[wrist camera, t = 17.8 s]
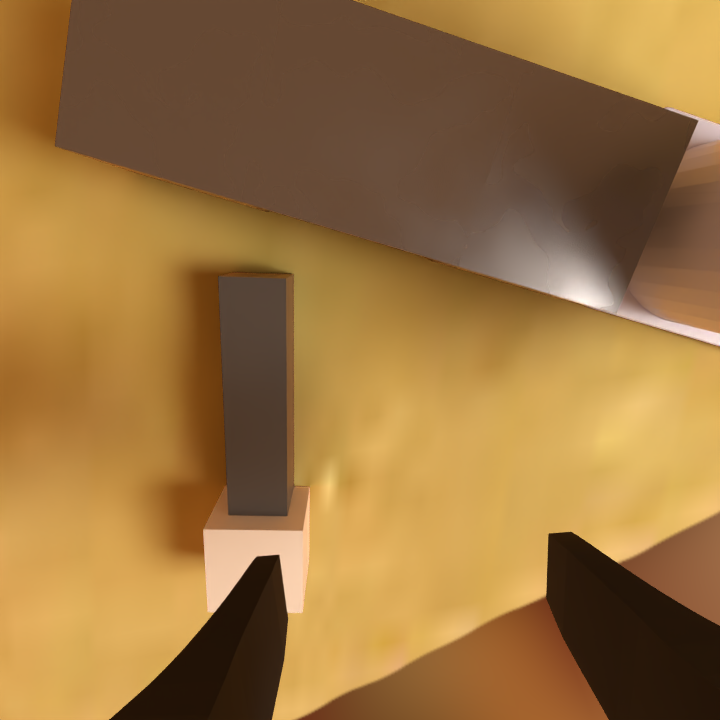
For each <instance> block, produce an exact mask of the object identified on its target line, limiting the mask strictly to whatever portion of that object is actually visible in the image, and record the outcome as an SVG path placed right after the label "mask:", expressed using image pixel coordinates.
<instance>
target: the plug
mask: <svg viewBox="0 0 720 720" xmlns="http://www.w3.org/2000/svg"><path fill="white" fill-rule="evenodd" d="M218 284H219V308H220V332H221V356H222V380H223V403H224V427H225V451H226V475H227V485H225V487H224V489H223V491H222V493H221V495H220V497H219V499H218V501H217V503H216V505H215V507H214V509H213V511H212V513H211V515H210V517H209V519H208V521H207V523H206V525H205V527H204V529H203V537H204V554H205V571H206V589H207V606H208V612H215V611H216V610H217V609H218V607H219V606H220V605H221V603H222V602H223V601H224V600H225V598H226V597H227V596H228V594H229V593H230V592H231V590H232V589H233V588H234V586H235V585H236V584H237V582H238V581H239V579H240V578H241V577H242V575H243V574H244V572H245V571H246V570H247V568H248V567H249V565H250V564H251V563H252V561H253V560H254V559H255V558H256V557H257V556H268V555H280V563H281V570H282V577H283V585H284V592H285V600H286V607H287V613H303V605H304V597H305V589H306V580H307V572H308V564H309V514H310V487H299V486H294V274H278V273H248V272H232V273H229V274H225V275H221V276H218Z"/></svg>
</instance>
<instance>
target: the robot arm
mask: <svg viewBox="0 0 720 720" xmlns="http://www.w3.org/2000/svg"><path fill="white" fill-rule="evenodd" d="M664 109H667V110H670V111H673V112H676V113H679V114H682V115H685V116H687V117H690V118H693V119H696V120H699V121H698V123H697V126H696V128H695V130H694V133H693V135H692V138H691V140H690V142H689V145H688V147H687V149H686V152H685V154H684V156H683V159H682V161H681V163H680V166H679V168H678V170H677V173H676V175H675V177H674V180H673V182H672V184H671V187H670V189H669V192H668V194H667V196H666V199H665V201H664V203H663V206H662V208H661V210H660V213H659V215H658V217H657V220H656V222H655V224H654V227H653V229H652V231H651V234H650V236H649V238H648V241H647V243H646V246H645V248H644V250H643V253H642V255H641V257H640V260H639V262H638V264H637V267H636V269H635V271H634V274H633V276H632V278H631V281H630V283H629V285H628V288H627V290H626V292H625V295H624V297H623V299H622V302H621V304H620V307H619V309H618V311H617V314H615V313H612V312H608V311H604V310H600V309H597V308H593V307H589V306H586V307H589V308H592V309H596V310H599V311H602V312H606V313H609V314H612V315H616V316H619V317H622V318H626V319H629V320H632V321H636V322H639V323H643V324H646V325H649V326H653V327H656V328H659V329H663V330H666V331H669V332H673V333H676V334H679V335H683V336H686V337H690V338H693V339H696V340H700V341H703V342H706V343H710V344H713V345H716V346H720V124H717V123H714V122H711V121H709V120H706V119H703V118H700V117H697V116H694V115H691V114H688V113H685V112H683V111H680V110H677V109H674V108H671V107H665V108H664ZM584 306H585V305H584ZM546 598H547V601H548V603H549V605H550V608H551V611H552V613H553V616H554V618H555V621H556V623H557V625H558V628H559V630H560V632H561V634H562V637H563V639H564V640H565V642H566V644H567V646H568V648H569V650H570V651H571V653H572V655H573V657H574V659H575V660H576V662H577V664H578V666H579V668H580V669H581V671H582V673H583V675H584V677H585V678H586V680H587V682H588V684H589V685H590V687H591V689H592V691H593V692H594V694H595V696H596V698H597V699H598V701H599V703H600V705H601V706H602V708H603V710H604V712H605V714H606V715H607V717H608V719H609V720H720V626H719V625H717V624H715V623H713V622H711V621H710V620H707V619H706V618H704V617H702V616H700V615H699V614H697V613H695V612H693V611H692V610H690V609H688V608H687V607H685V606H683V605H682V604H680V603H678V602H677V601H675V600H673V599H672V598H670V597H668V596H667V595H665V594H663V593H662V592H660V591H658V590H657V589H656V588H654V587H652V586H651V585H649V584H648V583H646V582H645V581H643V580H642V579H640V578H639V577H637V576H636V575H634V574H632V573H631V572H630V571H628V570H627V569H625V568H624V567H622V566H621V565H619V564H618V563H617V562H615V561H614V560H612V559H611V558H609V557H608V556H606V555H605V554H603V553H602V552H601V551H599V550H598V549H596V548H595V547H593V546H592V545H591V544H589V543H588V542H586V541H585V540H583V539H582V538H580V537H579V536H577V535H576V534H574V533H572V532H564V533H551V534H549V537H548V565H547V593H546ZM287 624H288V614H287V607H286V600H285V592H284V585H283V577H282V570H281V563H280V555H268V556H257V557H256V558H255V559H254V560H253V561H252V563H251V564H250V565H249V567H248V568H247V570H246V571H245V572H244V574H243V575H242V577H241V578H240V579H239V581H238V582H237V584H236V585H235V586H234V588H233V589H232V590H231V592H230V593H229V594H228V596H227V597H226V598H225V600H224V601H223V602H222V603H221V605H220V606H219V607H218V609H217V610H216V611H215V612H214V614H213V615H212V616H211V618H210V619H209V620H208V621H207V623H206V624H205V625H204V626H203V627H202V628H201V630H200V631H199V632H198V633H197V634H196V635H195V637H194V638H193V639H192V640H191V641H190V642H189V644H188V645H187V646H186V647H185V648H184V649H183V650H182V651H181V652H180V654H179V655H178V656H177V657H176V658H175V659H174V660H173V661H172V662H171V663H170V664H169V665H168V666H167V667H166V668H165V669H164V670H163V671H162V672H161V673H160V674H159V675H158V676H157V677H156V678H155V679H154V680H153V681H152V682H151V683H150V684H149V685H148V686H147V687H146V688H145V689H144V690H142V691H141V692H140V693H139V694H138V695H137V696H136V697H135V698H133V699H132V700H131V701H130V702H129V703H128V704H127V705H126V706H124V707H123V708H122V709H121V710H120V711H119V712H118V713H116V714H115V715H114V716H113V717H112V718H111V719H109V720H272V716H273V711H274V706H275V701H276V697H277V692H278V687H279V682H280V677H281V672H282V667H283V662H284V655H285V646H286V635H287Z"/></svg>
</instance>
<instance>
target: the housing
mask: <svg viewBox="0 0 720 720" xmlns="http://www.w3.org/2000/svg"><path fill="white" fill-rule="evenodd" d="M698 121H699V120H696V119H693V118H690V117H687V116H685V115H682V114H679V113H676V112H673V111H670V110H667V109H664V108H661V107H659V106H656V105H653V104H650V103H647V102H644V101H641V100H638V99H635V98H633V97H630V96H627V95H624V94H621V93H618V92H615V91H612V90H609V89H607V88H604V87H601V86H598V85H595V84H592V83H589V82H586V81H584V80H581V79H578V78H575V77H572V76H569V75H566V74H563V73H560V72H558V71H555V70H552V69H549V68H546V67H543V66H540V65H537V64H534V63H532V62H529V61H526V60H523V59H520V58H517V57H514V56H511V55H508V54H506V53H503V52H500V51H497V50H494V49H491V48H488V47H485V46H483V45H480V44H477V43H474V42H471V41H468V40H465V39H462V38H459V37H457V36H454V35H451V34H448V33H445V32H442V31H439V30H436V29H433V28H431V27H428V26H425V25H422V24H419V23H416V22H413V21H410V20H407V19H405V18H402V17H399V16H396V15H393V14H390V13H387V12H384V11H382V10H379V9H376V8H373V7H370V6H367V5H364V4H361V3H358V2H356V1H353V0H72V3H71V11H70V20H69V29H68V37H67V46H66V54H65V63H64V72H63V80H62V89H61V97H60V106H59V115H58V123H57V132H56V141H55V146H56V147H59V148H62V149H65V150H68V151H71V152H74V153H77V154H80V155H83V156H86V157H89V158H92V159H95V160H98V161H102V162H105V163H108V164H111V165H114V166H117V167H120V168H123V169H126V170H129V171H132V172H135V173H139V174H142V175H145V176H149V177H152V178H156V179H159V180H162V181H166V182H169V183H172V184H176V185H179V186H182V187H186V188H189V189H192V190H196V191H199V192H202V193H206V194H209V195H213V196H216V197H219V198H223V199H226V200H229V201H233V202H236V203H239V204H243V205H246V206H249V207H253V208H256V209H260V210H263V211H266V212H269V211H272V212H276V213H279V214H282V215H286V216H289V217H292V218H296V219H299V220H302V221H306V222H309V223H313V224H316V225H319V226H323V227H326V228H329V229H333V230H336V231H339V232H343V233H346V234H349V235H353V236H356V237H359V238H363V239H366V240H370V241H373V242H376V243H380V244H383V245H386V246H390V247H393V248H396V249H400V250H403V251H406V252H410V253H413V254H416V255H420V256H423V257H427V258H430V259H431V261H434V262H437V263H441V264H444V265H448V266H451V267H454V268H458V269H461V270H464V271H468V272H471V273H474V274H478V275H481V276H484V277H488V278H491V279H495V280H498V281H501V282H505V283H508V284H511V285H515V286H518V287H521V288H525V289H528V290H531V291H535V292H538V293H542V294H545V295H548V296H552V297H555V298H559V299H563V300H567V301H570V302H574V303H578V304H582V305H585V306H589V307H593V308H597V309H600V310H604V311H608V312H612V313H615V314H617V311H618V309H619V307H620V304H621V302H622V299H623V297H624V295H625V292H626V290H627V288H628V285H629V283H630V281H631V278H632V276H633V274H634V271H635V269H636V267H637V264H638V262H639V260H640V257H641V255H642V253H643V250H644V248H645V246H646V243H647V241H648V238H649V236H650V234H651V231H652V229H653V227H654V224H655V222H656V220H657V217H658V215H659V213H660V210H661V208H662V206H663V203H664V201H665V199H666V196H667V194H668V192H669V189H670V187H671V184H672V182H673V180H674V177H675V175H676V173H677V170H678V168H679V166H680V163H681V161H682V159H683V156H684V154H685V152H686V149H687V147H688V145H689V142H690V140H691V138H692V135H693V133H694V130H695V128H696V126H697V123H698Z"/></svg>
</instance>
